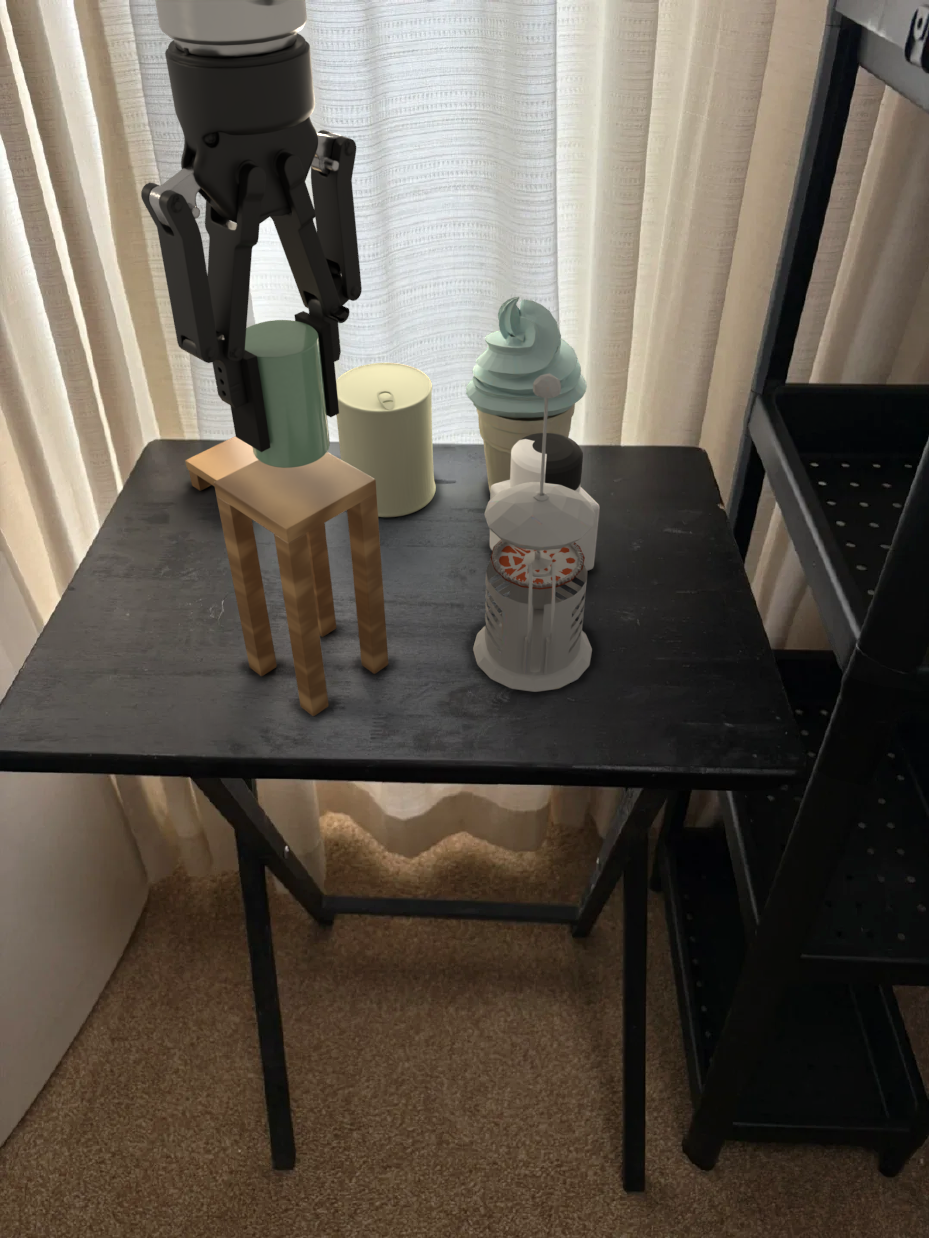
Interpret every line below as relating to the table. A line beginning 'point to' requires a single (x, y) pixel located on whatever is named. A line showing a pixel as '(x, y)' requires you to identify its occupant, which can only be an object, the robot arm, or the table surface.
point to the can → (389, 433)
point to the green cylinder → (290, 392)
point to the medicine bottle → (551, 477)
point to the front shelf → (304, 562)
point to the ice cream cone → (522, 382)
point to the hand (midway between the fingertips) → (288, 424)
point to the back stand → (219, 462)
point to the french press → (536, 581)
